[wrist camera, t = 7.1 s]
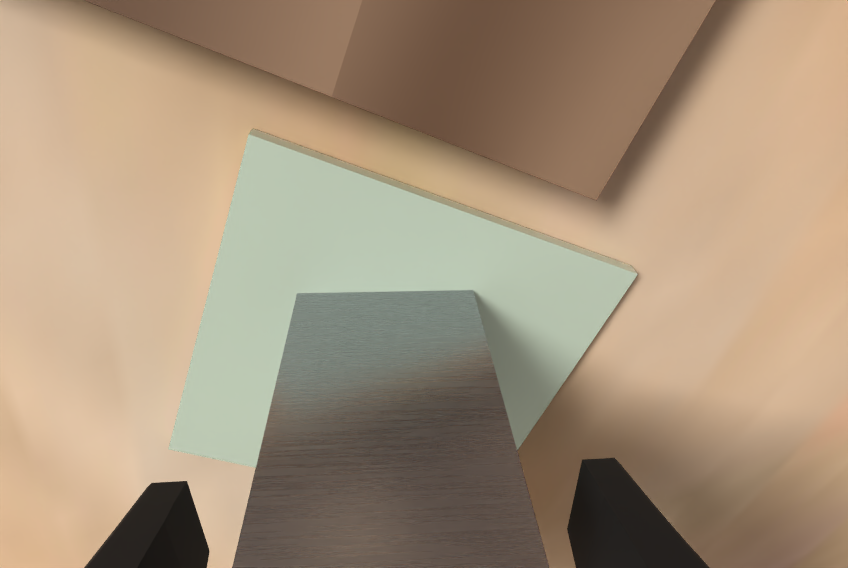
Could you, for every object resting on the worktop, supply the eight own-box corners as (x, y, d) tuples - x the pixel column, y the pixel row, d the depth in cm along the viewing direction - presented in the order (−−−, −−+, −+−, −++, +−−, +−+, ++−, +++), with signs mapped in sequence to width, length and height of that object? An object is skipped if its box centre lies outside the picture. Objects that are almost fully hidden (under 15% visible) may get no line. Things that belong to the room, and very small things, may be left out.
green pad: (631, 265, 13) (638, 274, 13) (472, 502, 17) (474, 513, 17) (252, 128, 11) (248, 134, 11) (173, 437, 15) (168, 449, 15)
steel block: (473, 290, 13) (554, 589, 7) (463, 417, 15) (519, 732, 9) (296, 293, 13) (222, 608, 7) (311, 422, 15) (265, 751, 9)
